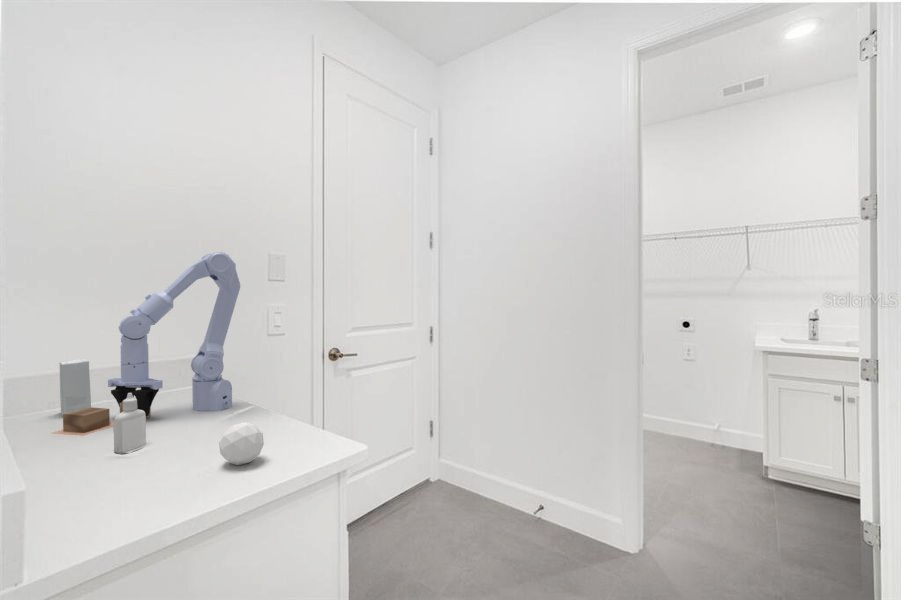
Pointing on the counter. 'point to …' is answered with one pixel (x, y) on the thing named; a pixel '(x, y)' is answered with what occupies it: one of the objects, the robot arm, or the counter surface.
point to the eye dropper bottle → (129, 427)
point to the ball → (241, 443)
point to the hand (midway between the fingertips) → (135, 416)
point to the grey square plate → (82, 433)
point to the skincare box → (74, 385)
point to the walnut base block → (86, 420)
